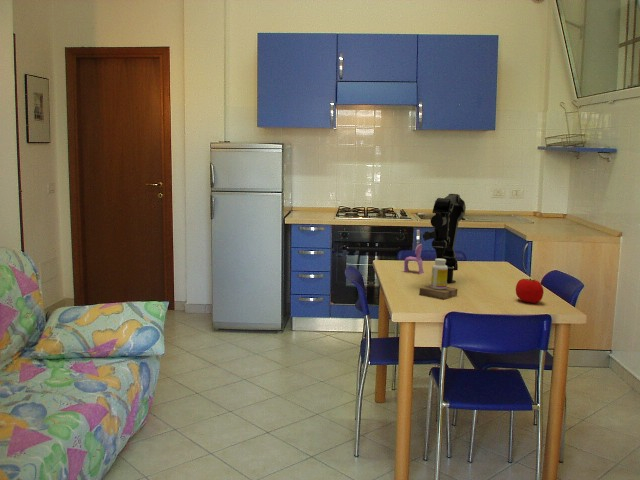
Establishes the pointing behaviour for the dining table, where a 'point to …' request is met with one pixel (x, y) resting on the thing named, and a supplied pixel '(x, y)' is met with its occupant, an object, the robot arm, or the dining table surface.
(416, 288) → the dining table surface
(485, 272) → the dining table surface
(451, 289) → the base
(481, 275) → the dining table surface
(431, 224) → the robot arm
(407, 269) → the toy chair
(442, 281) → the supplement bottle
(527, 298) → the tomato
